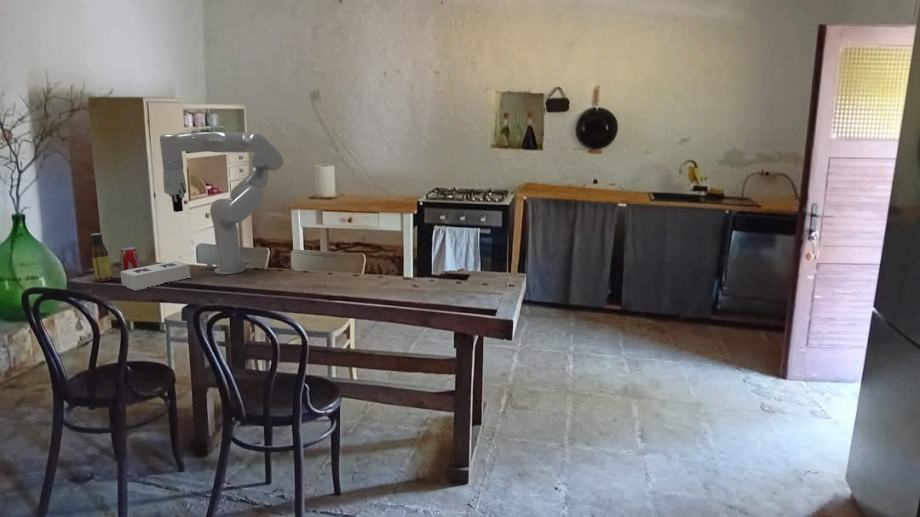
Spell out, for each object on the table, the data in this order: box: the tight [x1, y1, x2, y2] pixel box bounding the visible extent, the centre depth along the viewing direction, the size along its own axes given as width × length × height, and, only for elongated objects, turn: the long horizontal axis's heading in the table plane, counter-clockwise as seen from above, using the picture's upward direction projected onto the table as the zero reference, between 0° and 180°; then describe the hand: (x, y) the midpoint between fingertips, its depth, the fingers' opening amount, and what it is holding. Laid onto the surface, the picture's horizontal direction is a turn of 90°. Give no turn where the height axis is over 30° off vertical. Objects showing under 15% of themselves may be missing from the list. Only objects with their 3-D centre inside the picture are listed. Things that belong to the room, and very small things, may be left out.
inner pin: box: [162, 264, 175, 268], centre depth 278 cm, size 5×5×6 cm
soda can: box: [119, 246, 141, 271], centre depth 285 cm, size 7×7×12 cm
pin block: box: [120, 260, 192, 292], centre depth 274 cm, size 23×12×6 cm, turn 139°
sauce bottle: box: [90, 232, 113, 283], centre depth 276 cm, size 6×6×20 cm
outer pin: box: [135, 269, 148, 273], centre depth 270 cm, size 5×5×6 cm
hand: (178, 211), depth 269 cm, fingers closed
